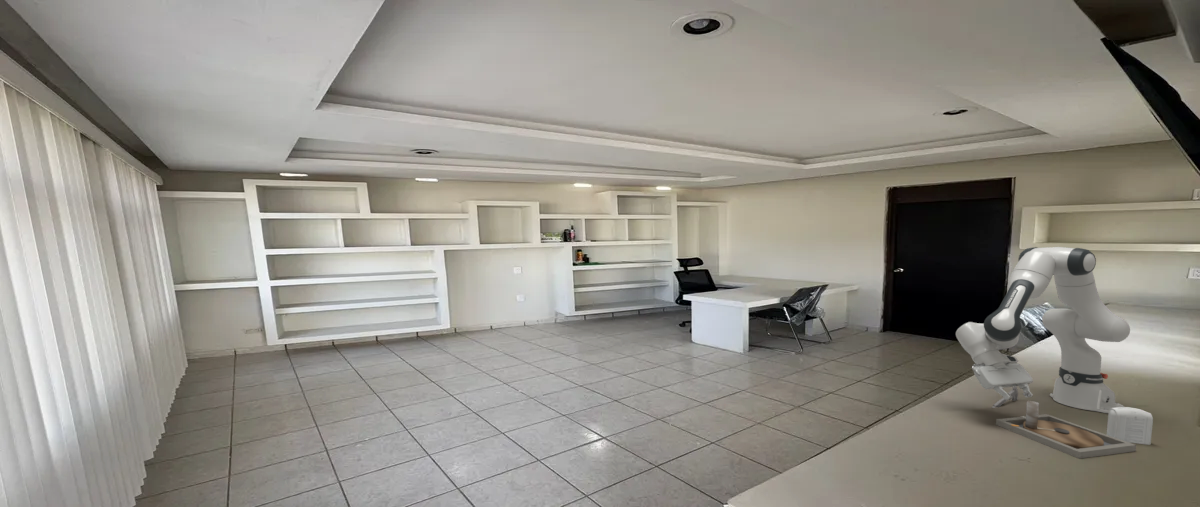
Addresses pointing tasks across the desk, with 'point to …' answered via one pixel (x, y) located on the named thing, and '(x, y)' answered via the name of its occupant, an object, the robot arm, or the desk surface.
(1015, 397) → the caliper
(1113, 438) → the dial base
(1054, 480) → the desk surface
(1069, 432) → the dial
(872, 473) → the desk surface
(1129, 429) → the photo printer
